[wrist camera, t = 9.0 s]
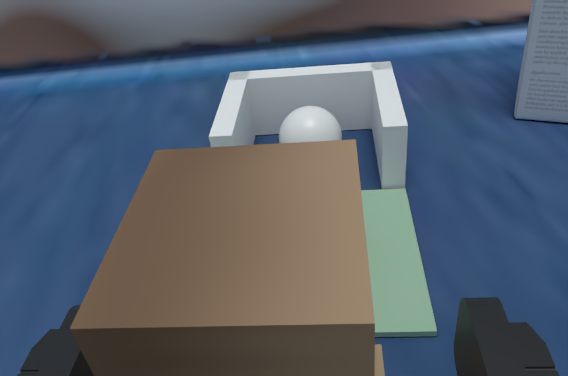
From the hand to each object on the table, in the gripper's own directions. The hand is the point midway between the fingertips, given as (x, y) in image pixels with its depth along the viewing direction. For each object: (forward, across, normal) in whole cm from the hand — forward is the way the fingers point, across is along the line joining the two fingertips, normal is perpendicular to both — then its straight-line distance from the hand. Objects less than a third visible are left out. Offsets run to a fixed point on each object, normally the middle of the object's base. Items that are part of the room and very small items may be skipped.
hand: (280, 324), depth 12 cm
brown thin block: (+4, 0, +7) cm, 8 cm away
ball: (+18, 0, +6) cm, 19 cm away
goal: (+19, 0, +8) cm, 20 cm away
